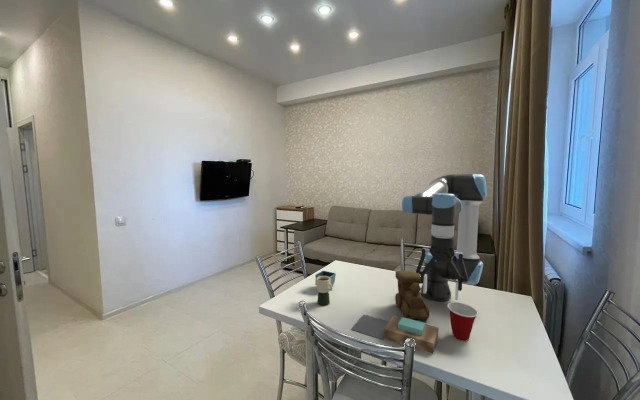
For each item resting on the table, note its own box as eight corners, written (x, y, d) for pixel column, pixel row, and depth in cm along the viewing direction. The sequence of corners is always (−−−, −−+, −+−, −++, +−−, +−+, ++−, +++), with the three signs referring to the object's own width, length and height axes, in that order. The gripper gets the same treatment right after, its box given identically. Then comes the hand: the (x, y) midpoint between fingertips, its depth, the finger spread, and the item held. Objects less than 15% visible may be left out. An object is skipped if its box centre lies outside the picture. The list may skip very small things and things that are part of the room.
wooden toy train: (393, 302, 137) (393, 270, 136) (415, 302, 137) (416, 270, 136) (405, 323, 117) (406, 286, 116) (431, 323, 117) (432, 286, 116)
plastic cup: (475, 348, 100) (476, 317, 99) (443, 339, 106) (444, 309, 105) (478, 334, 109) (479, 306, 108) (448, 326, 115) (449, 299, 114)
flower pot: (336, 288, 155) (336, 273, 154) (328, 293, 147) (328, 278, 146) (323, 285, 159) (323, 270, 159) (314, 290, 152) (314, 274, 151)
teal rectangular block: (425, 327, 107) (425, 323, 106) (422, 335, 101) (422, 330, 101) (402, 321, 111) (402, 317, 111) (398, 328, 106) (398, 323, 106)
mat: (393, 323, 117) (393, 322, 117) (383, 340, 105) (383, 339, 105) (363, 315, 125) (363, 314, 125) (350, 329, 113) (350, 329, 113)
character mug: (336, 304, 135) (336, 279, 134) (327, 309, 130) (327, 283, 129) (320, 297, 143) (320, 273, 142) (310, 302, 137) (310, 277, 136)
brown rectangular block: (438, 337, 107) (438, 327, 107) (433, 354, 97) (433, 343, 97) (393, 324, 116) (393, 315, 116) (384, 338, 106) (384, 329, 106)
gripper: (478, 237, 95) (476, 298, 97) (412, 231, 107) (411, 285, 109) (478, 242, 89) (475, 306, 91) (407, 234, 101) (406, 292, 103)
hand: (440, 295), depth 100 cm, fingers open, 10 cm apart
